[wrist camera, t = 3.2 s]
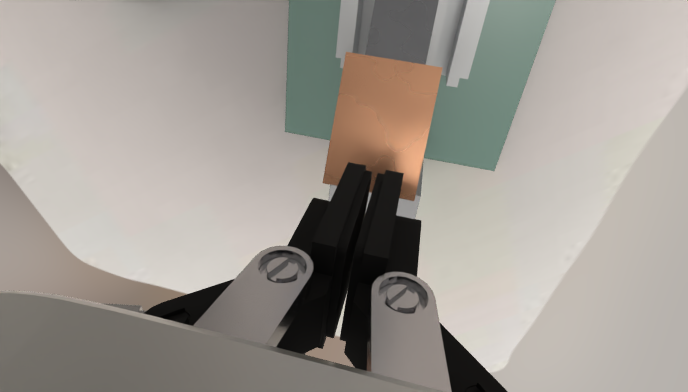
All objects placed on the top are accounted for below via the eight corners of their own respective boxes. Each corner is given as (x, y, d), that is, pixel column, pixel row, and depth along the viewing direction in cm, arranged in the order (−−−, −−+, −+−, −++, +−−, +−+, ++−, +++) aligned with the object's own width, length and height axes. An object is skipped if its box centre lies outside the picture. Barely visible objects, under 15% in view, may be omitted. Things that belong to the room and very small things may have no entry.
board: (303, -281, 20) (211, -431, 12) (641, -256, 18) (800, -411, 10) (288, 131, 32) (238, 195, 24) (491, 169, 31) (509, 251, 23)
